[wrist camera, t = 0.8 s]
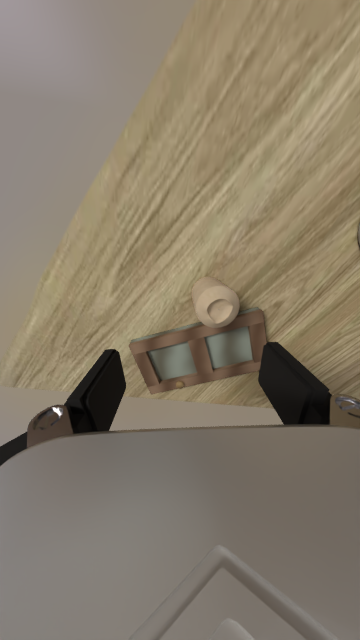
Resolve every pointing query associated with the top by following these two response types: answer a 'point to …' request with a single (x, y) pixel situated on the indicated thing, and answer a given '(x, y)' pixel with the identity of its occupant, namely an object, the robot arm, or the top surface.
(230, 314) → the candle
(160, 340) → the divided tray
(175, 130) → the top surface
